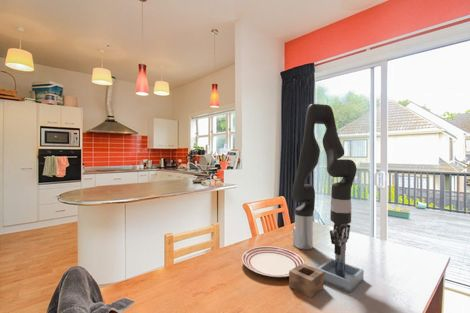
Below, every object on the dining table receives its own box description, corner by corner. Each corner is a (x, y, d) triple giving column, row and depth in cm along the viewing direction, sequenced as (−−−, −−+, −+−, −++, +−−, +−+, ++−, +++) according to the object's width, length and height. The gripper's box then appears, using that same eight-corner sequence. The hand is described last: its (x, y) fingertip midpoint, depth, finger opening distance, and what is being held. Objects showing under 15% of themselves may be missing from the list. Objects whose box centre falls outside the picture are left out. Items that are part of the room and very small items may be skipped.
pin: (330, 275, 92) (331, 237, 92) (336, 270, 96) (336, 234, 95) (343, 280, 89) (344, 241, 88) (348, 275, 92) (349, 238, 92)
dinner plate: (315, 265, 104) (315, 258, 104) (283, 292, 84) (283, 283, 84) (265, 247, 123) (265, 241, 123) (229, 266, 103) (229, 258, 102)
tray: (316, 278, 93) (316, 268, 93) (331, 267, 101) (331, 258, 101) (350, 293, 83) (350, 282, 83) (363, 279, 92) (363, 269, 92)
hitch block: (289, 286, 87) (289, 270, 87) (302, 278, 93) (302, 263, 93) (311, 297, 80) (311, 280, 80) (323, 287, 86) (323, 271, 86)
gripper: (339, 205, 99) (338, 245, 100) (323, 210, 90) (322, 254, 90) (357, 208, 94) (356, 250, 94) (342, 214, 84) (342, 261, 84)
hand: (340, 252), depth 92 cm, fingers closed on pin, 4 cm apart
